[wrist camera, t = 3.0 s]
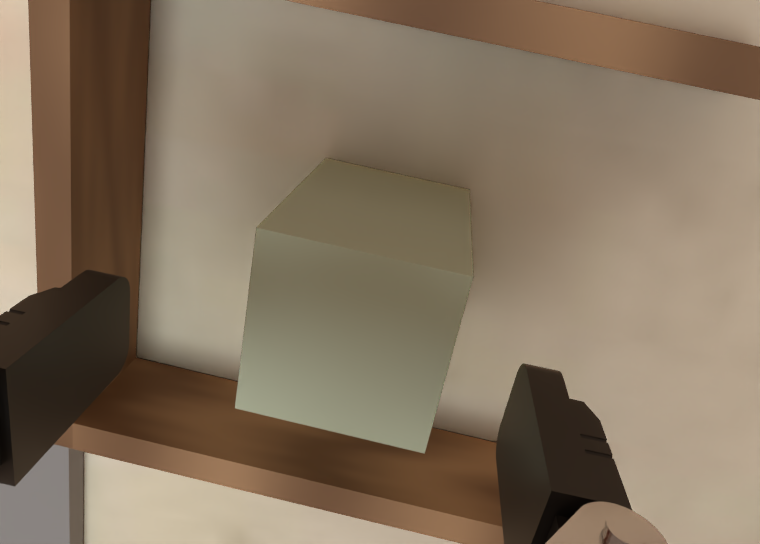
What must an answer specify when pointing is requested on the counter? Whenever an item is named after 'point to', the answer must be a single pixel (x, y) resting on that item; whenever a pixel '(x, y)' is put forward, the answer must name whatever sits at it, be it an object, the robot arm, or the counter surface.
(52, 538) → the slate mat
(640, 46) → the wooden u-shaped frame
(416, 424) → the sage block
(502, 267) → the counter surface
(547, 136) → the counter surface
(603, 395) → the counter surface
